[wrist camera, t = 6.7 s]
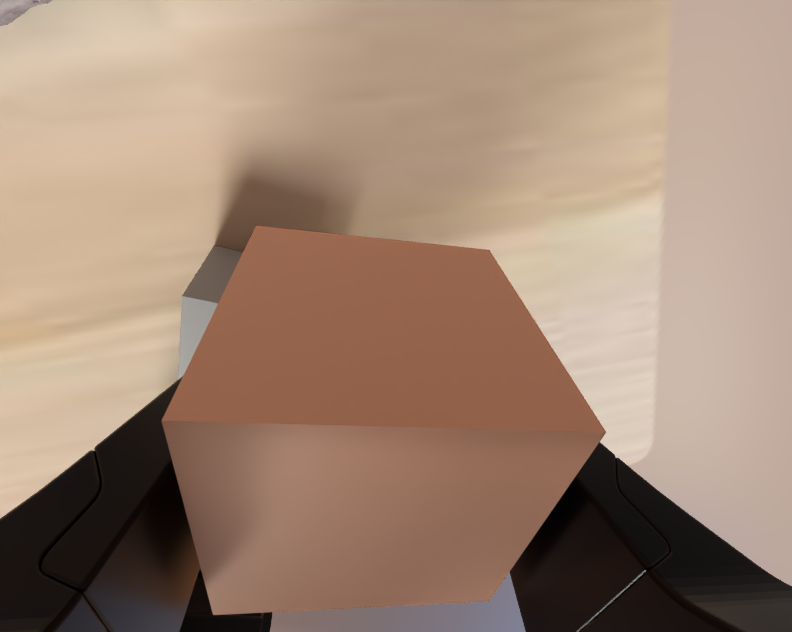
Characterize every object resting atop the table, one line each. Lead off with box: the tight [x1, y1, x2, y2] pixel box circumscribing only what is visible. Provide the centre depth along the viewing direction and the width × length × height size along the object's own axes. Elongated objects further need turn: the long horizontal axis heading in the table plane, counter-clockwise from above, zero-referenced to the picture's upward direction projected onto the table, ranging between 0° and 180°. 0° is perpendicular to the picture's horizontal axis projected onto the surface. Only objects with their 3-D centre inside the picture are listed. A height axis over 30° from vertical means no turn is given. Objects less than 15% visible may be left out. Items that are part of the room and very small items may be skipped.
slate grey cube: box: [178, 245, 243, 380], centre depth 21 cm, size 5×5×5 cm
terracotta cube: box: [162, 226, 606, 615], centre depth 8 cm, size 5×5×5 cm
